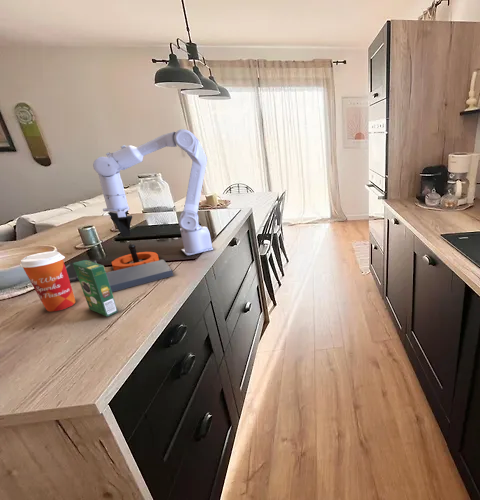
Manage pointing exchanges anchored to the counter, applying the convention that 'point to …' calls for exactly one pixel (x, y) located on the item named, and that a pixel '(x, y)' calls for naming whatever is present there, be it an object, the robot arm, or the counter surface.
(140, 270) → the blue-grey rectangular slab
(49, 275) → the paper cup
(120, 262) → the orange ring
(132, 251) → the hook post
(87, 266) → the coffee box
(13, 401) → the counter surface
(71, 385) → the counter surface
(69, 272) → the phone
